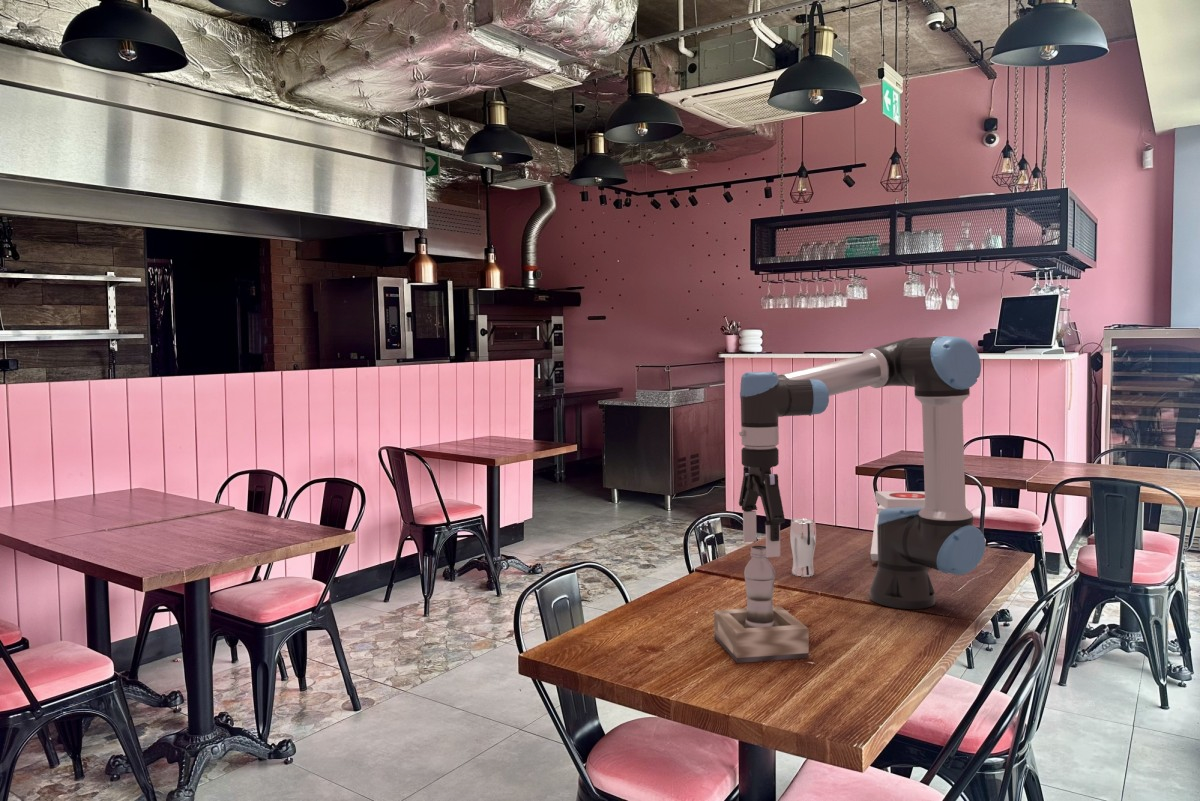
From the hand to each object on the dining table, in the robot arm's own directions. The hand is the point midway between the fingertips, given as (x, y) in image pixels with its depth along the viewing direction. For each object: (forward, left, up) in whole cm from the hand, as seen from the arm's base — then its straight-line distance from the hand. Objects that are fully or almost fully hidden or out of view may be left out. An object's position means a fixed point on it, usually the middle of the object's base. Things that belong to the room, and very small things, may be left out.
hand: (761, 548), depth 171 cm
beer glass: (-32, -53, -21) cm, 65 cm away
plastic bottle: (0, 0, -20) cm, 20 cm away
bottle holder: (0, 0, -21) cm, 21 cm away
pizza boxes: (-69, -65, -21) cm, 97 cm away
